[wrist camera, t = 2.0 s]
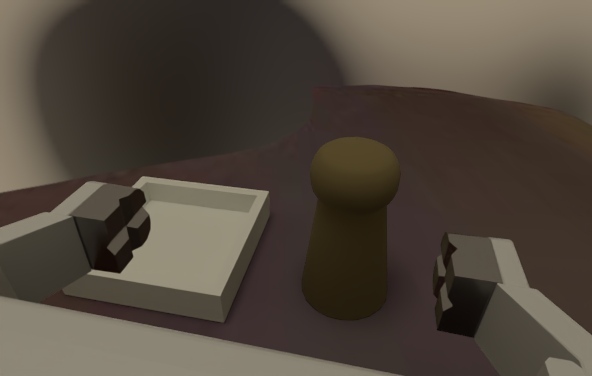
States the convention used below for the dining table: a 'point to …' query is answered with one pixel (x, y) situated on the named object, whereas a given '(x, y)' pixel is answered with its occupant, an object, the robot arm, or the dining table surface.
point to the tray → (186, 250)
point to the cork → (350, 227)
